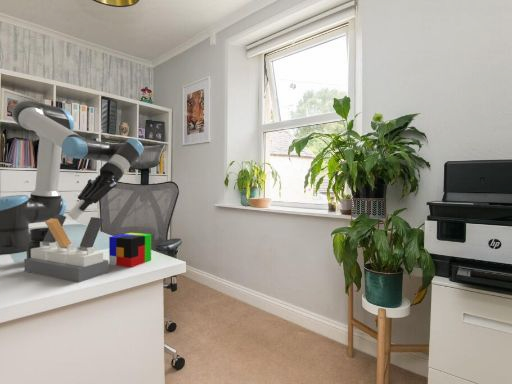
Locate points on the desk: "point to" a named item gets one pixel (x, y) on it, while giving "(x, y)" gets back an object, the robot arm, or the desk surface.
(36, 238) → the ink bottle
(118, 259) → the puzzle toy
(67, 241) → the lever
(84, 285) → the desk surface
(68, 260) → the block
